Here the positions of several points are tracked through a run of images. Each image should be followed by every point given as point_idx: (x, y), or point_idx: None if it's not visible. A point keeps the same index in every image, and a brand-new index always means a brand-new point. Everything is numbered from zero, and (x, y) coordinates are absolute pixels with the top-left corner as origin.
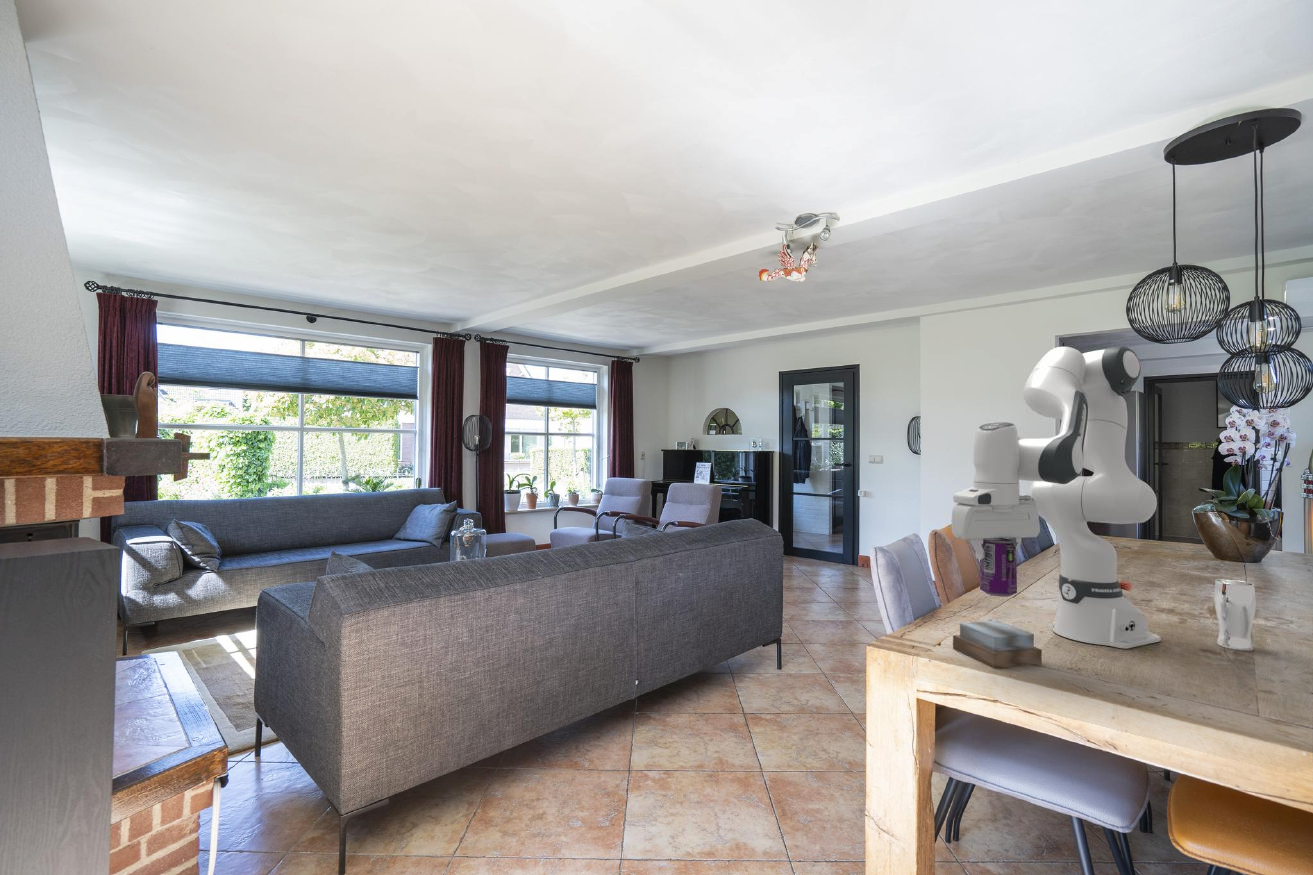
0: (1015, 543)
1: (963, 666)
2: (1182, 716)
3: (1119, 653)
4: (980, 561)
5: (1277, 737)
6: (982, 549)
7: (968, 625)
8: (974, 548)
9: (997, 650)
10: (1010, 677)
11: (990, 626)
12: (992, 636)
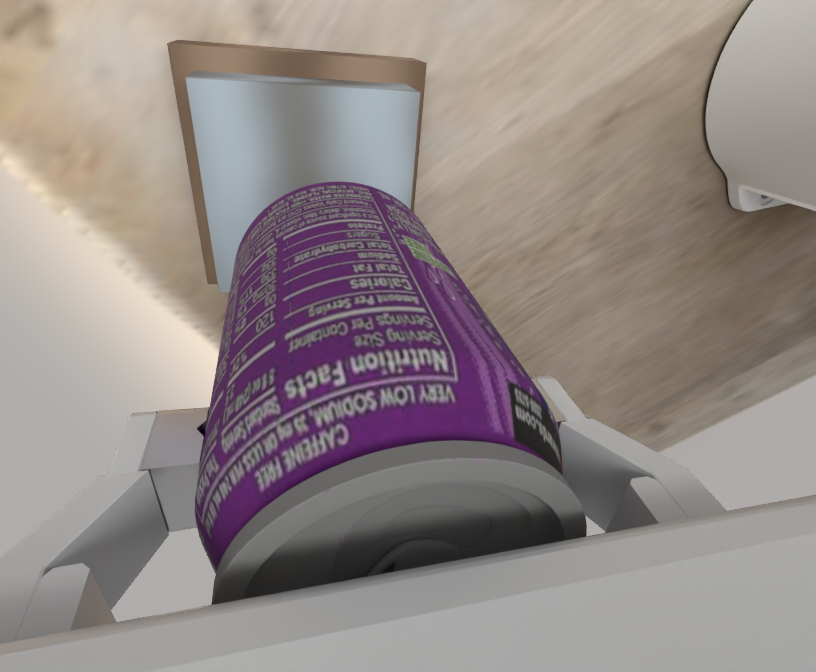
0: (612, 509)
1: (106, 231)
2: None
3: (682, 230)
4: (219, 359)
5: None
6: (142, 556)
7: (208, 127)
8: (79, 499)
9: None
10: (215, 327)
11: (311, 167)
12: (219, 283)
